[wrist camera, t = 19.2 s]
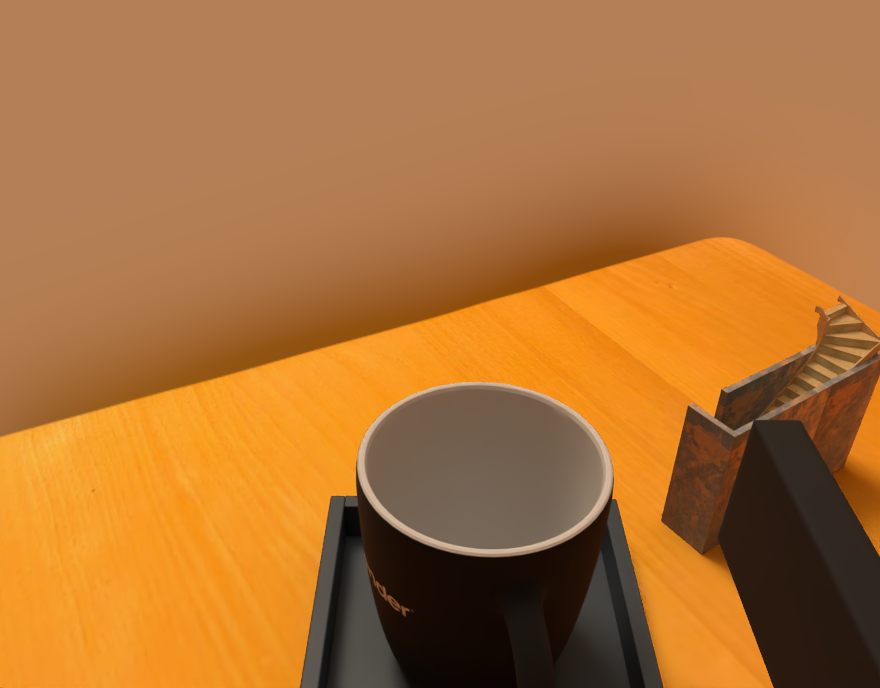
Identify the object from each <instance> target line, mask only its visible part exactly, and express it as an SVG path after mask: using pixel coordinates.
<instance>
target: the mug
mask: <svg viewBox="0 0 880 688" xmlns="http://www.w3.org/2000/svg"><path fill="white" fill-rule="evenodd" d="M613 484H614V475H613V465H612V460H611V457H610V454H609V451H608V449H607V447H606V445H605V443H604V441H603V440H602V438H601V437H600V435H599V434H598V433H597V431H596V430H595V429H594V428H593V427H592V426H591V425H590V424H589V423H588V422H587V421H586V420H585V419H584V418H583V417H582V416H580V415H579V414H578V413H577V412H575V411H574V410H572V409H571V408H570V407H568V406H566V405H564V404H563V403H561V402H559V401H557V400H555V399H553V398H551V397H549V396H546V395H544V394H542V393H539V392H536V391H533V390H530V389H526V388H522V387H518V386H513V385H508V384H501V383H491V382H464V383H454V384H447V385H442V386H437V387H433V388H430V389H426V390H423V391H421V392H418V393H415V394H413V395H411V396H408V397H406V398H405V399H403V400H401V401H399V402H397V403H396V404H394V405H393V406H391V407H390V408H389V409H387V410H386V411H385V412H384V413H382V414H381V415H380V416H379V417H378V418H377V419H376V420H375V421H374V422H373V424H372V425H371V426H370V427H369V429H368V430H367V432H366V434H365V435H364V437H363V440H362V442H361V445H360V448H359V451H358V457H357V463H356V487H357V500H358V509H359V518H360V527H361V534H362V541H363V548H364V554H365V559H366V565H367V570H368V575H369V580H370V585H371V589H372V593H373V597H374V601H375V605H376V609H377V613H378V616H379V620H380V623H381V626H382V629H383V631H384V634H385V637H386V639H387V642H388V644H389V646H390V649H391V651H392V653H393V655H394V657H395V658H396V660H397V661H398V663H399V665H400V666H401V668H402V669H403V670H404V671H405V672H406V674H407V675H408V676H409V677H410V678H411V679H412V680H413V681H414V682H415V683H416V684H417V685H418V686H419V687H421V688H556V684H555V673H554V664H555V663H556V661H557V660H558V658H559V656H560V655H561V653H562V651H563V649H564V647H565V645H566V643H567V641H568V639H569V637H570V635H571V633H572V631H573V628H574V626H575V624H576V621H577V619H578V616H579V614H580V611H581V608H582V606H583V603H584V600H585V598H586V595H587V592H588V589H589V586H590V583H591V580H592V577H593V573H594V570H595V567H596V564H597V560H598V557H599V553H600V549H601V546H602V542H603V538H604V534H605V529H606V525H607V521H608V516H609V512H610V507H611V501H612V494H613Z"/></svg>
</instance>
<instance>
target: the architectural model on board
mask: <svg viewBox="0 0 880 688" xmlns="http://www.w3.org/2000/svg"><path fill="white" fill-rule="evenodd" d="M838 301H839V302H841V304H839V305H837V306H835V307H833V308H831V309H828V310H826V311H824V310H823V309H822V307H820V306H818V305H817V306H816V309H815V312H817V313H819V315H820V318H819V321H818V324H817V330H818V336H817V342H816V346H815V345H811V346H810V347H809V348H807V349H805V350H803V351H801V352H799V353H797V354H795V355H793V356H791V357H789V358H787V359H785V360H783V361H781V362H779V363H777V364H775V365H772V366H770V367H768V368H766V369H764V370H762V371H760V372H758V373H756V374H754V375H752V376H750V377H748V378H746V379H744V380H742V381H740V382H738V383H736V384H734V385H732V386H729V387H725V388H723V389H722V390H721V394H720V397H719V401H718V405H717V409H716V413H715V417H712V416H711V415H710V414H708V413H707V412H705V411H704V410H702V409H701V408H699V407H698V406H696V405H695V404H693V403H692V404H690V405H688V409H687V413H686V417H685V421H684V426H683V430H682V434H681V438H680V443H679V447H678V451H677V456H676V460H675V464H674V468H673V473H672V477H671V481H670V485H669V490H668V494H667V498H666V502H665V507H664V511H663V514H661V515H662V519H661V521H662V522H663V523H664V524H665V525H667V526H668V527H669V528H670V529H671V530H673V531H674V532H675V533H676V534H677V535H679V536H680V537H681V538H682V539H683V540H685V541H686V542H687V543H688V544H689V545H691V546H692V547H693V548H694V549H695V550H697V551H698V552H699V553H700V554H701V555H702V554H703V553H705V552H707V551H708V550H710V549H711V548H713V547H715V546H716V545H718V544H720V543H719V540H718V535H719V531H720V528H721V525H722V522H723V518H724V515H725V512H726V509H727V505H728V502H729V499H730V495H731V492H732V489H733V486H734V482H735V479H736V476H737V473H738V469H739V466H740V463H741V460H742V456H743V453H744V450H745V447H746V443H747V440H748V437H749V434H750V430H751V427H752V424H753V421H754V420H799V421H801V422H802V424H803V425H804V427H805V429H806V431H807V432H808V434H809V436H810V437H811V439H812V441H813V443H814V444H815V446H816V448H817V450H818V451H819V453H820V455H821V456H822V458H823V460H824V462H825V463H826V465H827V467H828V469H829V470H830V472H831V474H833V473H834V472H836V471H838V470H839V469H841V468H843V467H844V465H845V462H846V460H847V457H848V454H849V452H850V449H851V447H852V444H853V442H854V439H855V437H856V434H857V432H858V429H859V426H860V424H861V421H862V419H863V416H864V414H865V411H866V409H867V406H868V404H869V401H870V398H871V396H872V393H873V391H874V388H875V386H876V383H877V381H878V378H879V375H880V352H879V351H880V337H879V336H878V335H877V334H876V333H875V332H874V331H873V330H872V329H871V328H870V327H869V326H868V325H867V324H866V323H865V322H864V321H863V320H862V319H861V318H860V317H859V316H858V314H857V313H856V312H855V311H854V310H853V309H852V308H851V307H850V305H849V304H848V303H847V302H846V301H845V300H844V299H843V298H842V296H841V295H839V298H838Z"/></svg>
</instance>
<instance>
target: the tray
mask: <svg viewBox="0 0 880 688" xmlns="http://www.w3.org/2000/svg"><path fill="white" fill-rule="evenodd" d="M554 673H555V684H556V688H663V684H662V680H661V676H660V672H659V668H658V664H657V660H656V656H655V652H654V648H653V644H652V640H651V636H650V632H649V628H648V624H647V620H646V616H645V612H644V608H643V604H642V600H641V596H640V592H639V588H638V584H637V580H636V576H635V572H634V568H633V564H632V560H631V556H630V552H629V548H628V544H627V540H626V536H625V532H624V528H623V524H622V520H621V516H620V512H619V508H618V504H617V501H616V499H612V501H611V507H610V512H609V516H608V521H607V525H606V529H605V534H604V538H603V542H602V546H601V549H600V553H599V557H598V560H597V564H596V567H595V570H594V573H593V577H592V580H591V583H590V586H589V589H588V592H587V595H586V598H585V600H584V603H583V606H582V608H581V611H580V614H579V616H578V619H577V621H576V624H575V626H574V628H573V631H572V633H571V635H570V637H569V639H568V641H567V643H566V645H565V647H564V649H563V651H562V653H561V655H560V656H559V658H558V660H557V661H556V663H555V664H554ZM300 688H421V687H419V686H418V685H417V684H416V683H415V682H414V681H413V680H412V679H411V678H410V677H409V676H408V675H407V674H406V672H405V671H404V670H403V669H402V668H401V666H400V665H399V663H398V661H397V660H396V658H395V657H394V655H393V653H392V651H391V649H390V646H389V644H388V642H387V639H386V637H385V634H384V631H383V629H382V626H381V623H380V620H379V616H378V613H377V609H376V605H375V601H374V597H373V593H372V589H371V585H370V580H369V575H368V570H367V565H366V559H365V554H364V548H363V541H362V534H361V527H360V518H359V509H358V500H357V496H346V497H345V496H331V499H330V505H329V512H328V518H327V524H326V530H325V536H324V543H323V549H322V555H321V561H320V567H319V574H318V580H317V586H316V592H315V598H314V605H313V611H312V617H311V623H310V629H309V636H308V642H307V648H306V654H305V661H304V667H303V673H302V679H301V685H300Z"/></svg>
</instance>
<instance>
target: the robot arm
mask: <svg viewBox="0 0 880 688" xmlns="http://www.w3.org/2000/svg"><path fill="white" fill-rule="evenodd" d="M718 540H719V543H720V545H721V548H722V551H723V553H724V556H725V559H726V561H727V564H728V567H729V569H730V572H731V575H732V577H733V580H734V583H735V585H736V588H737V591H738V593H739V596H740V599H741V601H742V604H743V607H744V609H745V612H746V615H747V617H748V620H749V623H750V625H751V628H752V631H753V633H754V636H755V639H756V641H757V644H758V647H759V649H760V652H761V655H762V657H763V660H764V663H765V665H766V668H767V671H768V673H769V676H770V679H771V681H772V684H773V687H774V688H880V557H879V555H878V553H877V551H876V550H875V548H874V546H873V545H872V543H871V541H870V539H869V538H868V536H867V534H866V532H865V531H864V529H863V527H862V526H861V524H860V522H859V520H858V519H857V517H856V515H855V513H854V512H853V510H852V508H851V507H850V505H849V503H848V501H847V500H846V498H845V496H844V494H843V493H842V491H841V489H840V488H839V486H838V484H837V482H836V481H835V479H834V477H833V475H832V474H831V472H830V470H829V469H828V467H827V465H826V463H825V462H824V460H823V458H822V456H821V455H820V453H819V451H818V450H817V448H816V446H815V444H814V443H813V441H812V439H811V437H810V436H809V434H808V432H807V431H806V429H805V427H804V425H803V424H802V422H801V421H799V420H754V421H753V424H752V427H751V430H750V434H749V437H748V440H747V443H746V447H745V450H744V453H743V456H742V460H741V463H740V466H739V469H738V473H737V476H736V479H735V482H734V486H733V489H732V492H731V495H730V499H729V502H728V505H727V509H726V512H725V515H724V518H723V522H722V525H721V528H720V531H719V535H718Z"/></svg>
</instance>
